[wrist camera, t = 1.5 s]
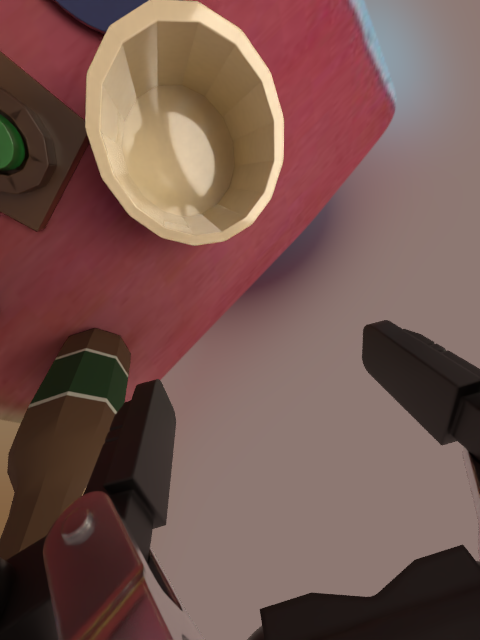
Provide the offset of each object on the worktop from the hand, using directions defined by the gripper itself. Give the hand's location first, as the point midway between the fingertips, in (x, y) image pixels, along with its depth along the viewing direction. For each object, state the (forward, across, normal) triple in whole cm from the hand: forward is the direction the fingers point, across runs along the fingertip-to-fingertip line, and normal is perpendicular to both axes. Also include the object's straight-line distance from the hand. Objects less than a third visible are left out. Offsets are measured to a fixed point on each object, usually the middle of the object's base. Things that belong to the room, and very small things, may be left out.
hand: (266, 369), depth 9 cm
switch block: (+19, +14, -13) cm, 27 cm away
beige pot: (+21, +1, -10) cm, 23 cm away
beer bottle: (+21, +18, +8) cm, 29 cm away
